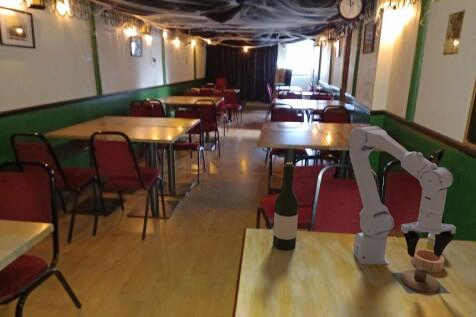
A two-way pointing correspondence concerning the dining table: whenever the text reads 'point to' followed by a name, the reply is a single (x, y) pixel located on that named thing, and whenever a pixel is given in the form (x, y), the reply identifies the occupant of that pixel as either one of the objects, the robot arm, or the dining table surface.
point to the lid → (420, 280)
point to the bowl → (428, 260)
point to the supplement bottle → (430, 241)
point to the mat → (409, 290)
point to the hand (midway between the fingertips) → (423, 255)
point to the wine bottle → (286, 213)
